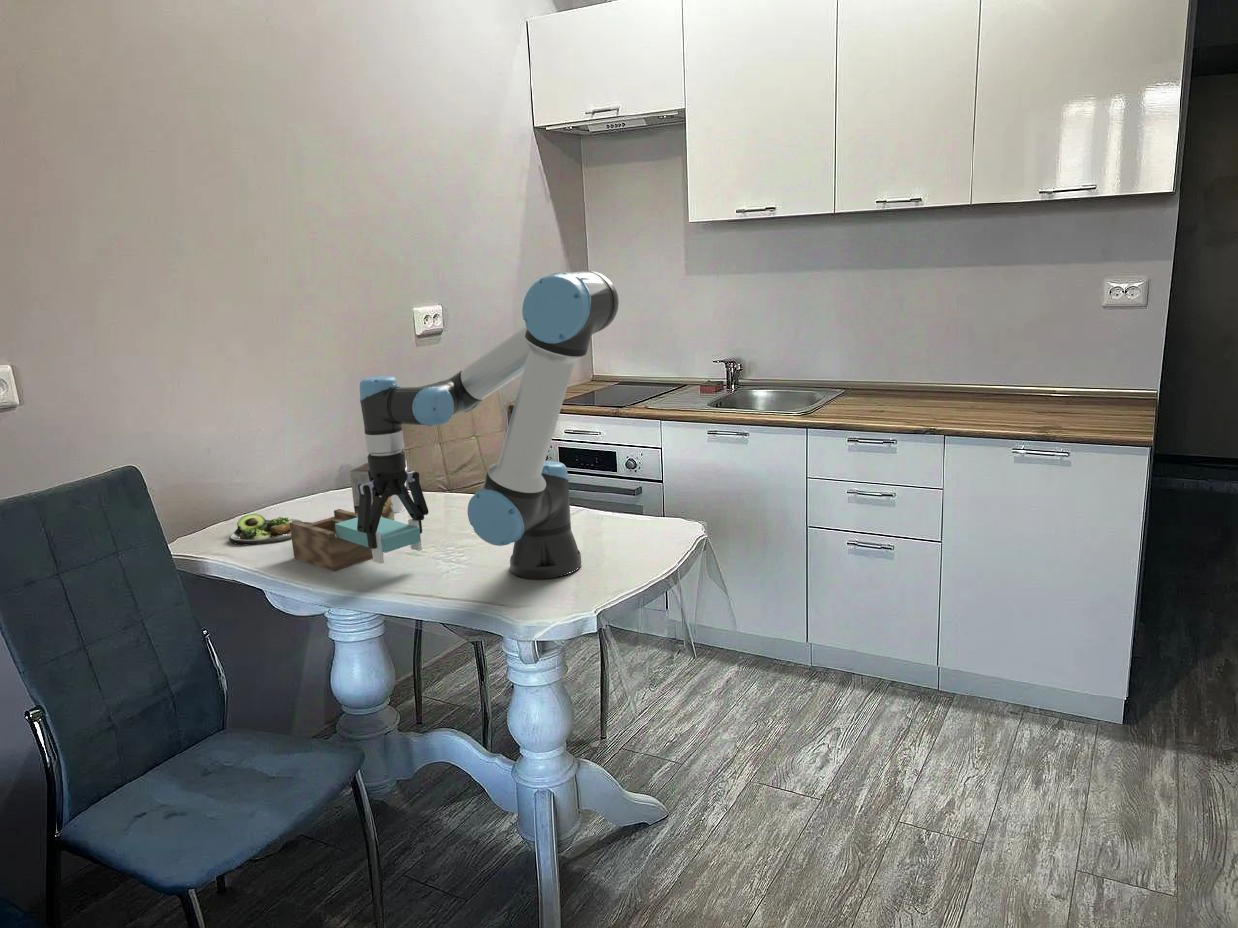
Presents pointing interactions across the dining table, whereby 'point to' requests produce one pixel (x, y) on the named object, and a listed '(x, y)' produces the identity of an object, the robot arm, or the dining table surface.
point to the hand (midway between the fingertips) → (397, 555)
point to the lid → (390, 530)
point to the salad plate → (262, 529)
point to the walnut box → (327, 543)
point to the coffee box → (363, 477)
